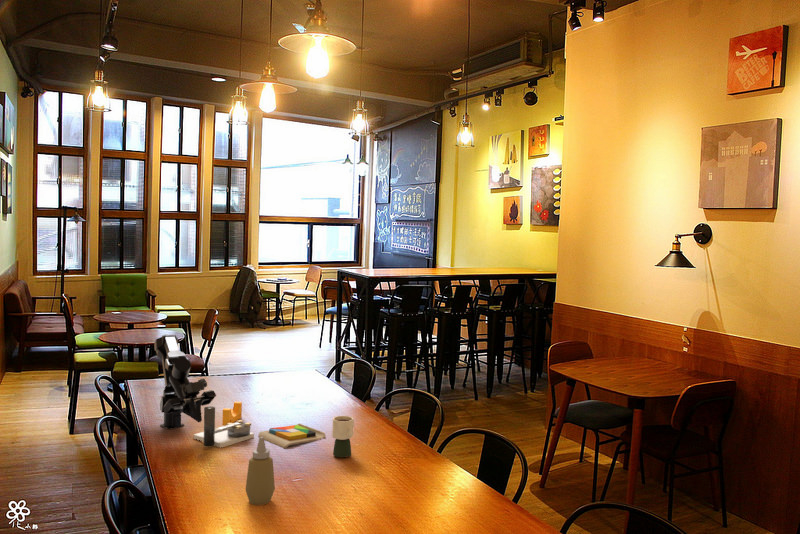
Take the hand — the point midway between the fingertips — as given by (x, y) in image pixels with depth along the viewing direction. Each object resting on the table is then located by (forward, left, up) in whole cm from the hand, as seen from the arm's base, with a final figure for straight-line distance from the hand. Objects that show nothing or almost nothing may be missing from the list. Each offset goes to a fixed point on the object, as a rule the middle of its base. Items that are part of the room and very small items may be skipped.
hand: (200, 421), depth 219 cm
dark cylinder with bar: (+6, +7, -7) cm, 11 cm away
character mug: (+46, +23, -8) cm, 52 cm away
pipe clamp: (-13, +24, -8) cm, 28 cm away
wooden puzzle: (+19, +26, -9) cm, 33 cm away
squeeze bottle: (+52, -19, -8) cm, 56 cm away
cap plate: (+2, +9, -8) cm, 12 cm away
